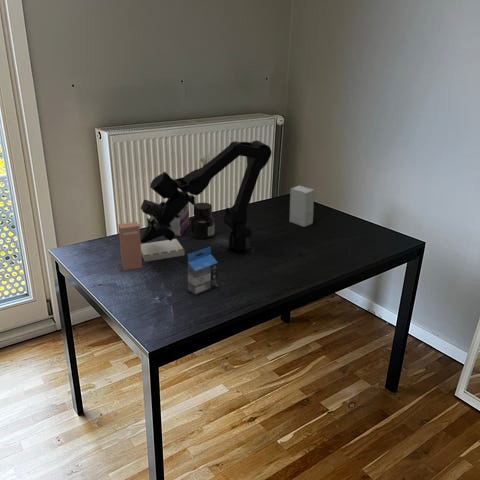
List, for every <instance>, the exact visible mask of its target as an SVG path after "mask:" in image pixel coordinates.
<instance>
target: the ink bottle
mask: <svg viewBox="0 0 480 480" xmlns="http://www.w3.org/2000/svg"><path fill="white" fill-rule="evenodd" d="M192 207H193V216H192V217H191V218H190V219H191V220H190V231H191V232H190V234H191V236H192V237H193V238H195V239H199V240H206V239H212V238H213V237H214V236H215V218H214V217H213V215H212V213H213V207H212V204H211V203H209V202H197V203H196V202H195V205H193V206H192Z"/></svg>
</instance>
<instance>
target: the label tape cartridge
mask: <svg viewBox="0 0 480 480" xmlns="http://www.w3.org/2000/svg"><path fill="white" fill-rule="evenodd" d="M211 249H212V247H211V246H208V247H205V248H201V249H199V250H196V251H193V252H190V253H187V291H189V292H190V293H192V294H193V295H198V294H201V293H203V292H205V291H209V290H211V289H213V288H215V287H218V286H219V282H218V281H219V277H218V276H219V262H218V261H217V260H216V258H215V257H214V255H212V252H211ZM199 254H200V255H199Z"/></svg>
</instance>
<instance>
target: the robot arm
mask: <svg viewBox="0 0 480 480" xmlns="http://www.w3.org/2000/svg"><path fill="white" fill-rule="evenodd" d="M271 156H272V150H271V147H270V146H269V145H267V144H265V143H264V142H262V141H260V140H253V141H251V142H249V141H235V140H234V141H232V142H230V143H229V145H228V146H227V147H225V148H224V149H223V150H222V151H221V152H219V153H218V154H217V155H215V156H214V157H213V158H212V159H210V161H208V162H207V163H206V164H205V165H203V166H202V167H200V168H198V169H197V168H196V169H194V170H191V171H190V172H189V173H187V174H186V175H184V176H183V177H179V178H175V179H174V178H172V177H171V176H170V175H169V173H167V172H166V171H163V172H162V173H161V174H158V175H156V176H155V177H154V178H153V179H152V181H151V183H150V187H149V188H151V190H153V191H154V192H155V193H156V194H157V195H159V196H160V197H161V198H162V199H167V200H166V201H161V202H160V203H156V202H155V201H152V200H151V201H150V200H147V199H143V201H142V203H141V206H140V210H141V211H142V213H143V214H146V215H148V216H150V217H149V218H148V217H146V222H147V223H146V225H147V226H146V229H145V231H144V233H143V235H142V236H141V238H140V241H141V244H145V243H149V242H151V241H152V240H155V239H157V238H161V237H164V238H166V240H170V241H172V239H175V237H176V236H175V233H174V232H173V230H172V229H171V228H170V227H171V225H170V223H171V222H172V221H173V220H174V219H175V218H177V219H178V218H179V217H180V216H179V215H178V214H179V213H180V212H181V211H182V210H183V208H184V207H185V206H186V205H187V204H188V203H189V204H191V205H193V206H194V205H195V204H196V196H199V195H201V194H202V193H203V192H204V191H205V189H206V188H208V186H209V184H210V182H211V180H212V179H213V178H215V176H216V175H218V174H219V173H220V172H221V171H222V170H224V169H225V168H226V167H227V166H229V165H230V164H231V163H232V162H234V161H235V160H236V159H238V158H239V157H246V169H245V170H244V174H243V177H242V180H241V184H240V186H239V189H238V192H237V195H236V198H235V201H234V204H233V206H231V207H226V209H225V214H224V215H223V219H224V220H223V222H224V225H225V226H226V227H227V228H228V229H229V231H230V234H229V236H228V246H229V247H228V248H227V251H230V252H233V253H237V254H241V255H244V254H246V253H247V252H248V251H249V250H250V249H251V248H252V246H251V245H250V238H251V237H252V235H253V231H252V230H251V229H250V228H249V227H248V226H247V224H248V208H249V204H250V202H251V199H252V196H253V193H254V190H255V188H256V184H257V182H258V178H259V176H260V173H261V171H262V169H263V168H265V166H266V165H267V164H268V163H269V160H270V158H271ZM178 188H179V189H180V190H182V191H181V192H180V191H179V190H178ZM186 192H189V194H187V193H186Z"/></svg>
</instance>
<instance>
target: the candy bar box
mask: <svg viewBox="0 0 480 480" xmlns="http://www.w3.org/2000/svg"><path fill="white" fill-rule="evenodd" d="M178 190H179V191H180V192H181V191H182V190H180V189H179V188H178ZM186 193H187V194H189V195H190V193H189V192H186ZM178 215H179V216H180V217H179V218H178V219H177V218H175V219H174V220H173V221H172V222H171V223H170V225H171V227H170V228H171V229H172V230H173V232H174V233H175V237H182V236H183V234H184V233H186V231H187V229H188V228H189V227H190V226H191V221H190V202H189V203H188V204H187V205H186V206H185V207H184V208H183V210H182V211H181V212H180V213H179V214H178Z"/></svg>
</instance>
